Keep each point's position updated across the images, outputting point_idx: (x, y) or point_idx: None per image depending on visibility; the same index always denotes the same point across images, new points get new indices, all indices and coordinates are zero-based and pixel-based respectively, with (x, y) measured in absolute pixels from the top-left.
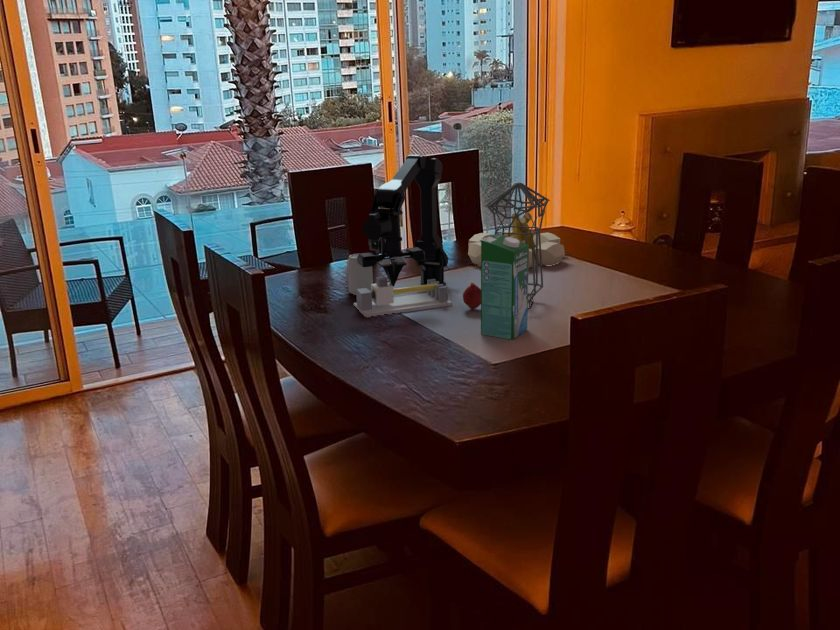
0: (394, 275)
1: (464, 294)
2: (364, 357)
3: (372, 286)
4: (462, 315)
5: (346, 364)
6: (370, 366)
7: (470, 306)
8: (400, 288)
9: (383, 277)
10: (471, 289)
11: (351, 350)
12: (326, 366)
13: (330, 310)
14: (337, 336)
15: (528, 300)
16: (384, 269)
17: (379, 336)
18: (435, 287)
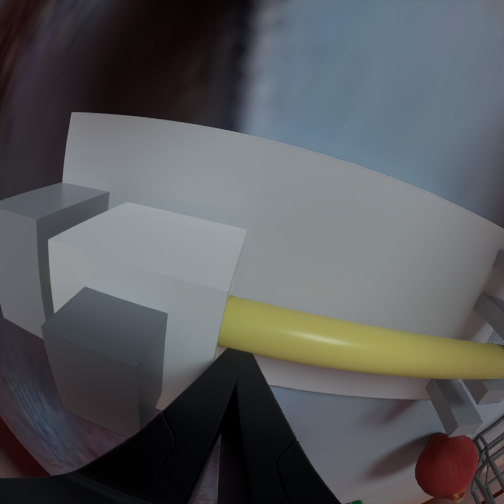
0: (219, 488)
1: (428, 478)
2: (56, 454)
3: (57, 282)
4: (372, 459)
5: (34, 446)
6: (64, 469)
7: (419, 456)
8: (309, 359)
9: (118, 388)
10: (436, 497)
11: (36, 429)
12: (11, 429)
13: (2, 130)
14: (6, 368)
15: (487, 464)
16: (100, 471)
17: (88, 435)
18: (478, 388)
